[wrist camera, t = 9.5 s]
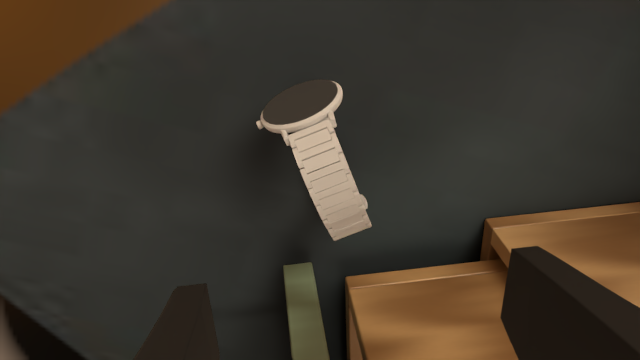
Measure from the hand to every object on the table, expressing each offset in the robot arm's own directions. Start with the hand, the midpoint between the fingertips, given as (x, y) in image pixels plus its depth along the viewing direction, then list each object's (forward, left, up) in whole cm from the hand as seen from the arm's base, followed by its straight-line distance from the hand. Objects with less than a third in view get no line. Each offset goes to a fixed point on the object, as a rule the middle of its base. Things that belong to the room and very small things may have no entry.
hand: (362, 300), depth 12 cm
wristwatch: (0, 0, -10) cm, 10 cm away
